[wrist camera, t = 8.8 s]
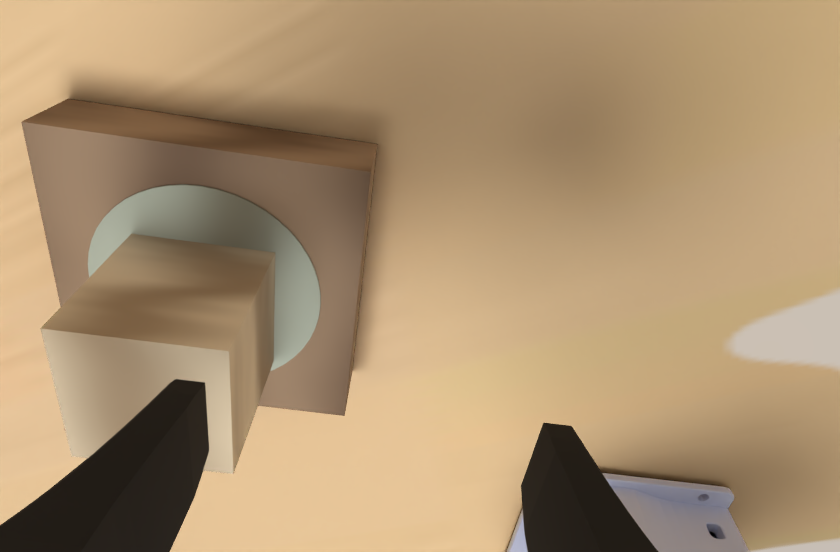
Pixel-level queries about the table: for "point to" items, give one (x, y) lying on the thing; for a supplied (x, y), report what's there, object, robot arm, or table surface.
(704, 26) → the table surface
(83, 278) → the plinth
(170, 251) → the block
